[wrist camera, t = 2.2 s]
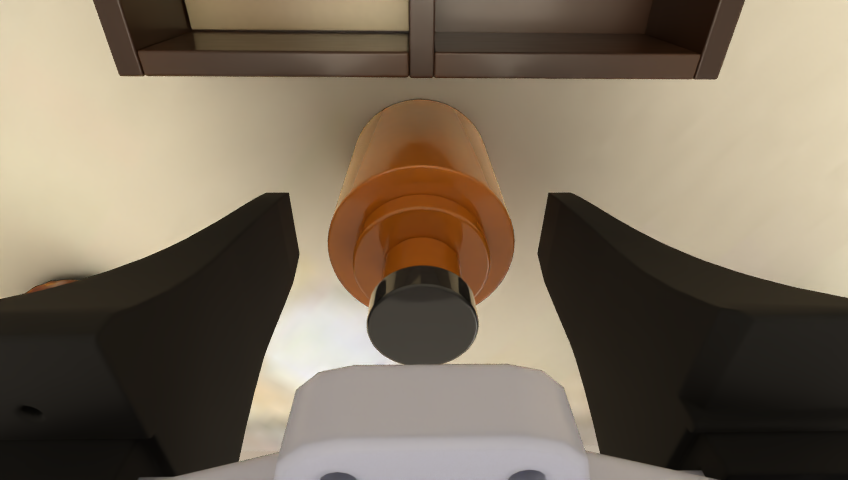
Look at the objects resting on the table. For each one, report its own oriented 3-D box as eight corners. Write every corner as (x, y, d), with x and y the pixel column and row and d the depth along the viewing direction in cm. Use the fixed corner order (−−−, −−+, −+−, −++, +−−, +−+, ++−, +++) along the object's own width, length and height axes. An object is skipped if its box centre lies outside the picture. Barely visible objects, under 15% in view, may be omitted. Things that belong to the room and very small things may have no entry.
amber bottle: (492, 99, 15) (559, 229, 8) (480, 223, 17) (524, 404, 10) (347, 98, 15) (286, 229, 8) (358, 223, 17) (318, 405, 10)
